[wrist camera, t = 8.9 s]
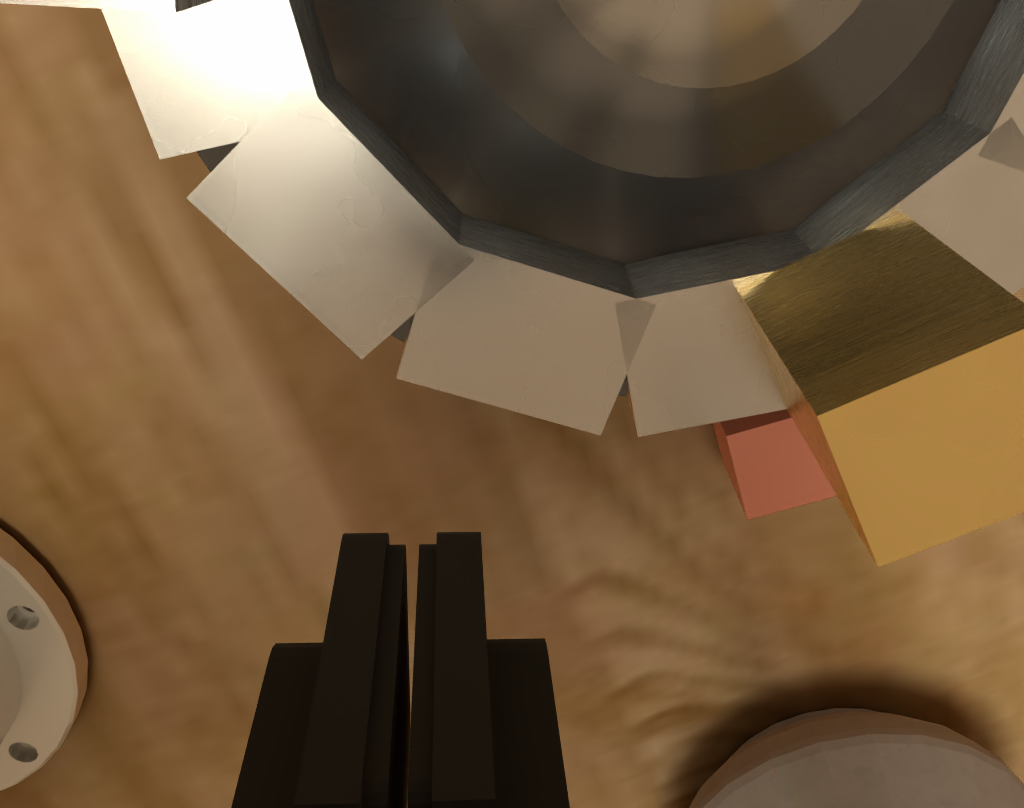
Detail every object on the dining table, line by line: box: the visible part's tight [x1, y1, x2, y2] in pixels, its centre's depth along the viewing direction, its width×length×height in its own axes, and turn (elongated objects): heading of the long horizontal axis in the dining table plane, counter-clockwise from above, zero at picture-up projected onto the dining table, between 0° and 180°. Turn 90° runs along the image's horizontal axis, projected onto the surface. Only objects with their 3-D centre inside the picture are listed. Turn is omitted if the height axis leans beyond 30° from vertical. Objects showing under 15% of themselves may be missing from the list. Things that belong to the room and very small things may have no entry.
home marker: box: [713, 409, 837, 520], centre depth 23 cm, size 2×2×3 cm
